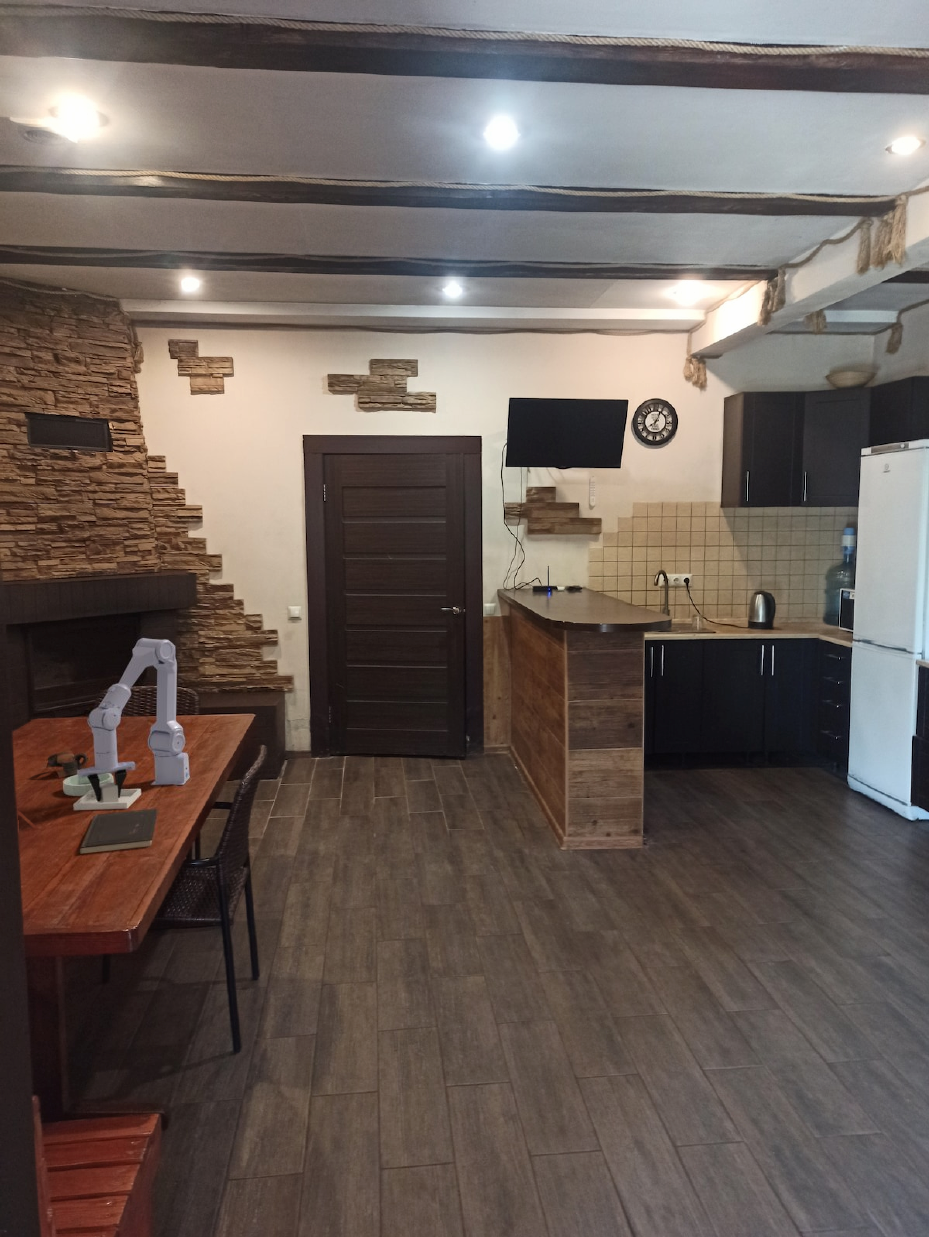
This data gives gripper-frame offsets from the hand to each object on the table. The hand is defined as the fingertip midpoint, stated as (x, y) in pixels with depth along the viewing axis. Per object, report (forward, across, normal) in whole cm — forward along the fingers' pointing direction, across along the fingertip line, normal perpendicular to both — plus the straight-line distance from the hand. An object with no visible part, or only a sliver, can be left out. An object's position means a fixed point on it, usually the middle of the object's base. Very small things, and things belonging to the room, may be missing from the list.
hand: (108, 798), depth 225 cm
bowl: (+2, +2, -16) cm, 16 cm away
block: (+1, 0, 0) cm, 1 cm away
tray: (+2, 0, 0) cm, 2 cm away
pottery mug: (+2, +4, -39) cm, 39 cm away
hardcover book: (+2, +2, +26) cm, 26 cm away
